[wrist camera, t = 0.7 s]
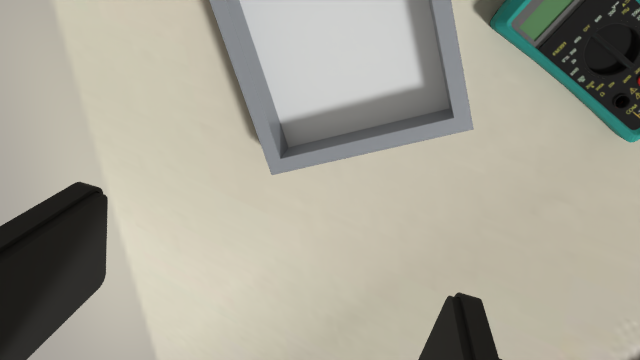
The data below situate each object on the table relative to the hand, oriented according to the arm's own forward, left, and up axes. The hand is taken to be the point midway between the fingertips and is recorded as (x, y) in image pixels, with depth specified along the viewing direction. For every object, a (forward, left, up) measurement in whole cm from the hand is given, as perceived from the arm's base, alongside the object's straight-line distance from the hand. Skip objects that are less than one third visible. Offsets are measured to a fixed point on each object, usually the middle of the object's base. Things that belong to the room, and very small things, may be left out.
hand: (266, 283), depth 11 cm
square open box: (0, -4, -27) cm, 27 cm away
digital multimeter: (-18, +1, -27) cm, 33 cm away
